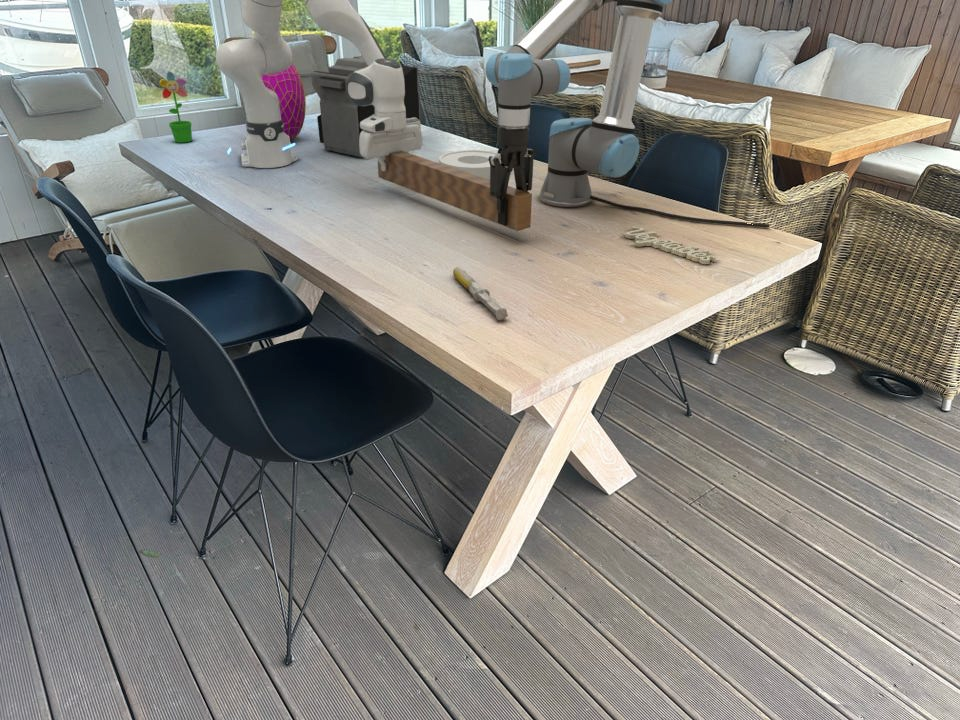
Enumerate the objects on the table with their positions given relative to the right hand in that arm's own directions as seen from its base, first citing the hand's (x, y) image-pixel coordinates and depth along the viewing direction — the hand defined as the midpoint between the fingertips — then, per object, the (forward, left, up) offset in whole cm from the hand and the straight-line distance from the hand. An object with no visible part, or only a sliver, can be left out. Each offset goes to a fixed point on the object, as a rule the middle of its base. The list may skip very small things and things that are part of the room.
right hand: (510, 221), depth 173 cm
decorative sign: (-37, -12, -5) cm, 39 cm away
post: (+23, -10, -1) cm, 25 cm away
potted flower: (+152, -41, -5) cm, 157 cm away
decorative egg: (+120, -60, -5) cm, 134 cm away
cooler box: (+85, -67, -5) cm, 108 cm away
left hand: (+47, -21, +2) cm, 51 cm away
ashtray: (+36, -54, -5) cm, 65 cm away
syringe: (-8, +35, -5) cm, 36 cm away
